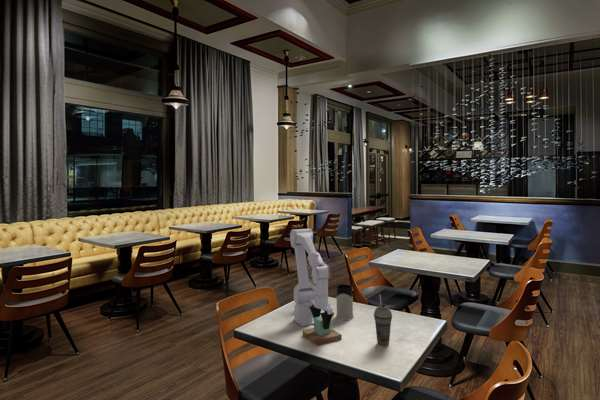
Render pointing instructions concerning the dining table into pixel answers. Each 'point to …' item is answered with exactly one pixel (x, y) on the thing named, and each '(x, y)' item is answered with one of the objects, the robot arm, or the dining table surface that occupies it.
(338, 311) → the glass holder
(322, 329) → the teal block
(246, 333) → the dining table surface
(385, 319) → the beverage cup
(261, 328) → the dining table surface
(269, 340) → the dining table surface
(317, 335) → the walnut base
